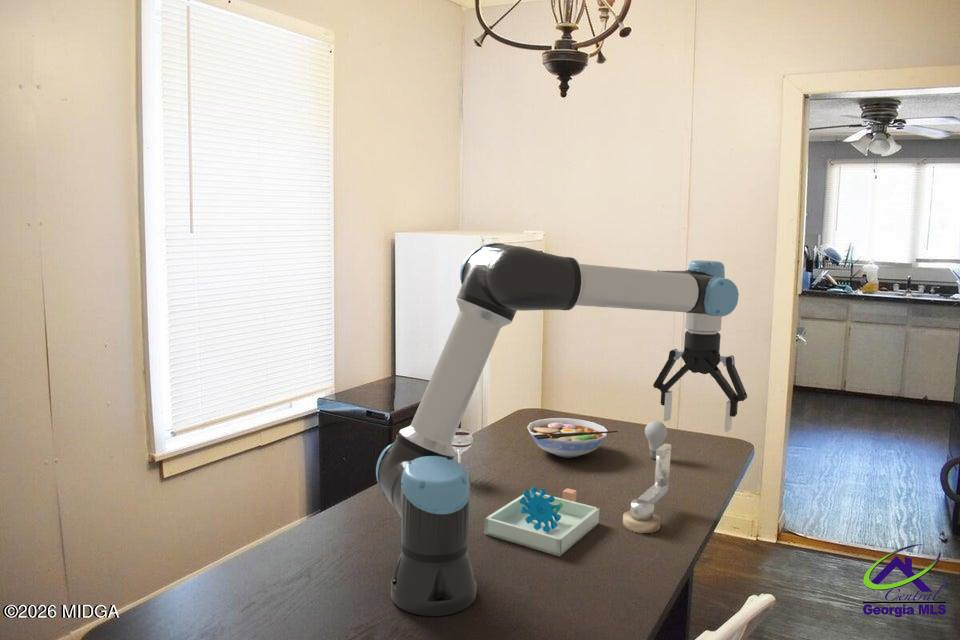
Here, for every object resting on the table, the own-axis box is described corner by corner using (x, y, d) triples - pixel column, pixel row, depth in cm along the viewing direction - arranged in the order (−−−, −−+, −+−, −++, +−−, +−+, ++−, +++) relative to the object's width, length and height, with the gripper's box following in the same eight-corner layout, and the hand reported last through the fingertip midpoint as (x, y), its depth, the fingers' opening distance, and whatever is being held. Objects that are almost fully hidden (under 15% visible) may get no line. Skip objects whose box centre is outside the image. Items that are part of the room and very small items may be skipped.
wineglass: (473, 473, 191) (474, 428, 190) (470, 482, 185) (471, 436, 183) (447, 472, 192) (448, 427, 190) (443, 481, 185) (444, 435, 184)
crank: (648, 523, 158) (652, 467, 156) (626, 517, 161) (630, 462, 159) (675, 497, 173) (678, 445, 171) (654, 492, 176) (657, 441, 174)
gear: (530, 530, 152) (516, 486, 158) (516, 542, 156) (503, 498, 162) (572, 527, 158) (558, 485, 163) (557, 539, 162) (544, 496, 167)
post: (571, 510, 169) (572, 493, 169) (561, 507, 170) (562, 491, 170) (575, 506, 171) (576, 490, 171) (566, 504, 172) (567, 488, 172)
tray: (559, 556, 146) (560, 539, 145) (484, 534, 155) (484, 518, 155) (598, 523, 162) (599, 508, 162) (528, 504, 172) (529, 490, 171)
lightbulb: (668, 458, 208) (670, 420, 206) (661, 464, 203) (663, 425, 201) (647, 454, 211) (649, 416, 210) (639, 459, 206) (642, 421, 205)
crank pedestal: (652, 537, 156) (653, 528, 156) (617, 527, 160) (617, 518, 160) (664, 524, 163) (665, 515, 163) (630, 515, 167) (630, 507, 167)
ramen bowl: (588, 439, 224) (589, 412, 223) (625, 463, 202) (626, 434, 201) (511, 444, 216) (512, 417, 215) (541, 470, 195) (542, 441, 194)
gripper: (766, 335, 158) (758, 430, 161) (654, 323, 171) (649, 412, 174) (758, 339, 152) (750, 439, 155) (642, 327, 165) (637, 419, 168)
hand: (696, 425), depth 165 cm, fingers open, 13 cm apart
